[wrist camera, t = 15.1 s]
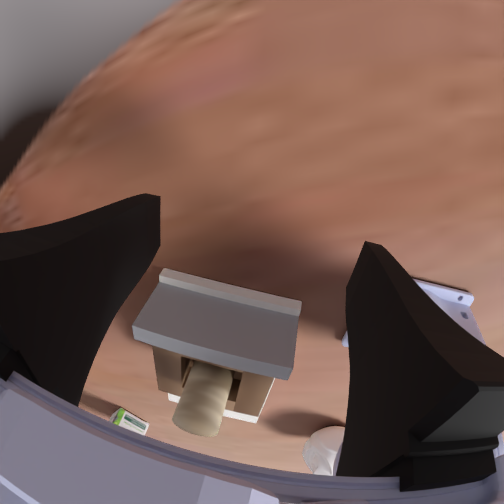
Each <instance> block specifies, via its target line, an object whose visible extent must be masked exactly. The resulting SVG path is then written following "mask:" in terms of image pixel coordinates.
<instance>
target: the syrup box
mask: <svg viewBox="0 0 504 504" xmlns="http://www.w3.org/2000/svg"><path fill="white" fill-rule="evenodd" d="M109 422H111V423H114V424H116V425H119V426H121V427H123V428H126V429H128V430H131V431H134V432H136V433H139V434H141V435H145V433H146V431H147V429H148V426H149V423H148V422H145V421H143V420H141V419H139V418H138V417H136V416H134V415H133V414H131V413H129V412H128V411H126V410H124V409H123V408H119V409H118V410H117V411H116V412H114V413H113V414H112V416H111V418H110V420H109Z"/></svg>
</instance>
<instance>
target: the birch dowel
mask: <svg viewBox="0 0 504 504" xmlns="http://www.w3.org/2000/svg"><path fill="white" fill-rule="evenodd" d="M234 373H235V371H234V370H230V369H226V368H222V367H218V366H215V365H211V364H207V363H204V362H200V361H196V360H194V363H193V366H192V368H191V371H190V373H189V376H188V379H187V381H186V384H185V386H184V389H183V392H182V394H181V397H180V400H179V402H178V405H177V407H176V410H175V413H174V415H173V418H172V421H173V423H174V424H175V425H176V426H178V427H179V428H181V429H182V430H184V431H186V432H189V433H191V434H194V435H198V436H204V437H212V436H216V435H217V434H218V431H219V428H220V424H221V421H222V417H223V413H224V410H225V406H226V402H227V399H228V395H229V392H230V388H231V384H232V381H233V377H234Z"/></svg>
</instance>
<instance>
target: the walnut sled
mask: <svg viewBox="0 0 504 504" xmlns="http://www.w3.org/2000/svg"><path fill="white" fill-rule="evenodd" d="M152 347H153V355H154V362H155V369H156V376H157V382H158V388H159V390H161V391H164V392H167V393H170V394H173V395H176V396H179V397H181V394H182V392H183V389H184V386H185V384H186V381H187V379H188V376H189V373H190V371H191V368H192V366H193V363H194V360H196V361H200V362H204V363H207V364H211V365H215V366H218V367H222V368H226V369H230V370H234V371H235V373H234V377H233V381H232V384H231V388H230V392H229V395H228V399H227V402H226V406H225V409H226V410H230V411H234V412H238V413H242V414H247V415H251V416H256V417H258V416H259V414H260V411H261V409H262V406H263V404H264V402H265V399H266V397H267V394H268V392H269V390H270V387H271V385H272V382H273V380H274V378H273V377H268V376H264V375H259V374H255V373H251V372H246V371H242V370H238V369H234V368H230V367H226V366H222V365H218V364H214V363H211V362H207V361H203V360H200V359H196V358H193V357H189V356H186V355H182V354H179V353H176V352H173V351H169V350H166V349H163V348H160V347H157V346H154V345H152Z"/></svg>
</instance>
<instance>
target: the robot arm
mask: <svg viewBox="0 0 504 504" xmlns="http://www.w3.org/2000/svg"><path fill="white" fill-rule="evenodd" d="M159 247H160V196H156V195H151V194H146V193H145V194H140V195H136V196H133V197H129V198H126V199H123V200H121V201H118V202H115V203H112V204H110V205H107V206H104V207H101V208H99V209H96V210H93V211H90V212H87V213H84V214H81V215H78V216H76V217H73V218H69V219H66V220H63V221H59V222H55V223H52V224H48V225H44V226H39V227H34V228H29V229H25V230H20V231H13V232H7V233H0V504H288V503H294V504H504V442H503V438H502V433H501V432H503V431H504V357H502V356H501V355H499V354H498V353H496V352H495V351H493V350H492V349H490V348H489V347H487V346H486V344H485V341H484V339H483V337H482V334H481V332H480V329H479V327H478V325H477V322H476V320H475V318H474V316H473V313H472V311H471V309H470V307H469V306H470V305H471V303H472V302H473V300H474V297H473V295H472V294H471V293H469V292H465V291H461V290H457V289H453V288H449V287H445V286H441V285H437V284H433V283H429V282H424V281H420V280H416V279H412V277H411V276H410V275H409V274H408V273H407V272H406V271H405V269H404V268H403V267H402V266H401V265H400V264H399V263H398V262H397V260H396V259H395V258H394V257H393V256H392V255H391V254H390V253H389V252H388V251H387V250H386V249H385V248H384V247H383V246H382V245H379V244H375V243H371V242H367V241H365V242H364V245H363V248H362V250H361V253H360V255H359V258H358V260H357V263H356V265H355V268H354V270H353V273H352V275H351V278H350V280H349V283H348V285H347V287H346V323H347V331H346V333H345V335H344V337H343V339H342V345H343V346H345V347H349V359H350V385H349V398H348V408H347V417H346V425H345V431H344V437H343V442H342V443H341V445H340V447H339V449H338V452H337V454H336V457H335V460H334V465H333V476H328V475H316V474H306V473H297V472H290V471H282V470H276V469H269V468H263V467H258V466H252V465H247V464H242V463H238V462H233V461H229V460H224V459H220V458H216V457H212V456H208V455H204V454H201V453H197V452H193V451H190V450H186V449H183V448H180V447H177V446H173V445H170V444H167V443H164V442H161V441H158V440H155V439H153V438H150V437H147V436H144V435H141V434H139V433H136V432H134V431H131V430H128V429H126V428H123V427H121V426H119V425H116V424H114V423H111V422H109V421H107V420H105V419H102V418H100V417H98V416H96V415H93V414H91V413H89V412H87V411H85V410H83V409H81V408H79V407H78V404H79V401H80V398H81V394H82V391H83V388H84V385H85V382H86V379H87V376H88V374H89V371H90V368H91V366H92V363H93V361H94V358H95V356H96V354H97V351H98V349H99V347H100V345H101V342H102V340H103V338H104V336H105V334H106V332H107V330H108V328H109V326H110V324H111V322H112V320H113V318H114V317H115V315H116V313H117V312H118V310H119V308H120V307H121V306H122V304H123V303H124V301H125V300H126V298H127V297H128V296H129V294H130V293H131V291H132V290H133V288H134V287H135V286H136V284H137V283H138V282H139V280H140V279H141V277H142V276H143V274H144V273H145V272H146V270H147V269H148V267H149V266H150V264H151V262H152V260H153V259H154V257H155V255H156V253H157V251H158V249H159ZM459 296H461V297H459ZM458 297H459V298H458ZM282 502H285V503H282Z"/></svg>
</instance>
